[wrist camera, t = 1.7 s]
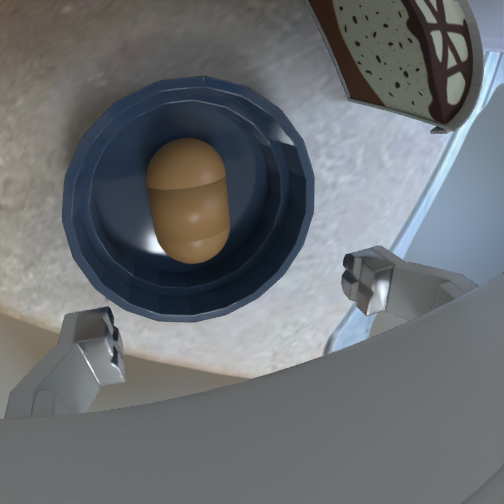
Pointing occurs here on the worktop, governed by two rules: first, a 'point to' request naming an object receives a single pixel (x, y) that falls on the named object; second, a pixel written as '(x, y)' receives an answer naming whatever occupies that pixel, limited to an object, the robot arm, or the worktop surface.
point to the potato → (189, 200)
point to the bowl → (138, 207)
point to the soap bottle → (490, 23)
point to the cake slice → (406, 56)
